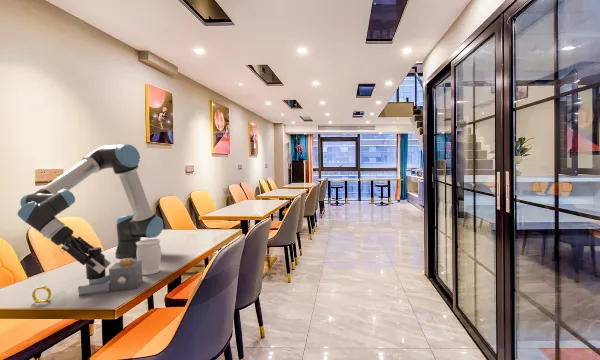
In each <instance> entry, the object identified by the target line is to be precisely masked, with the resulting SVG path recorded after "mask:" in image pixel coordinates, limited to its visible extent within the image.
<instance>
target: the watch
mask: <svg viewBox="0 0 600 360" xmlns="http://www.w3.org/2000/svg"><path fill="white" fill-rule="evenodd" d="M37 290H46V291H47V295H48V296H47V298H46V299H38V298H37V296H36V292H37ZM31 297H32V300H33V301H34V302H36V303H45V302H47V301H49V300H50V299H51V297H52V291H51V289H50V288H49V287H48V286H46V284H43V285H38V286H36V288H35V289H34V290H33V291H32V293H31Z"/></svg>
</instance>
